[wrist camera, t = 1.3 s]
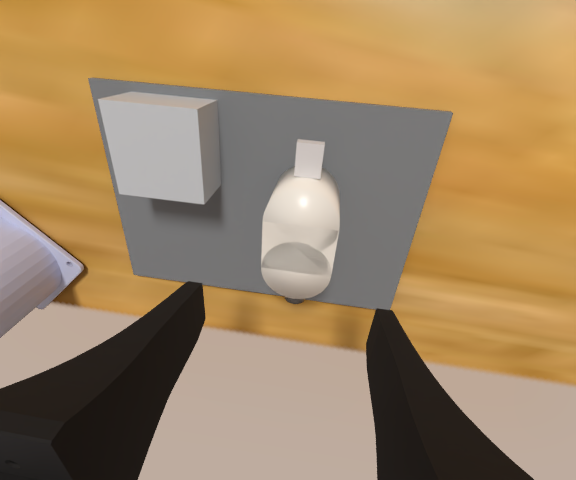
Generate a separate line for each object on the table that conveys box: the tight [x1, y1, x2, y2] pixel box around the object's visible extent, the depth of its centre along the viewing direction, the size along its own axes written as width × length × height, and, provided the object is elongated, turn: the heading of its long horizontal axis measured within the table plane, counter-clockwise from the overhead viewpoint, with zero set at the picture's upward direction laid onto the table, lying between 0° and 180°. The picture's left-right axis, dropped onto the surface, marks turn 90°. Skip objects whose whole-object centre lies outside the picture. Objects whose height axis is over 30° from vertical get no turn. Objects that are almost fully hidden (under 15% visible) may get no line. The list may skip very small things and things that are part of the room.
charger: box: [98, 92, 221, 205], centre depth 18 cm, size 5×5×3 cm
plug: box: [261, 139, 340, 304], centre depth 19 cm, size 10×4×4 cm, turn 176°
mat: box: [88, 78, 453, 310], centre depth 21 cm, size 20×14×1 cm
